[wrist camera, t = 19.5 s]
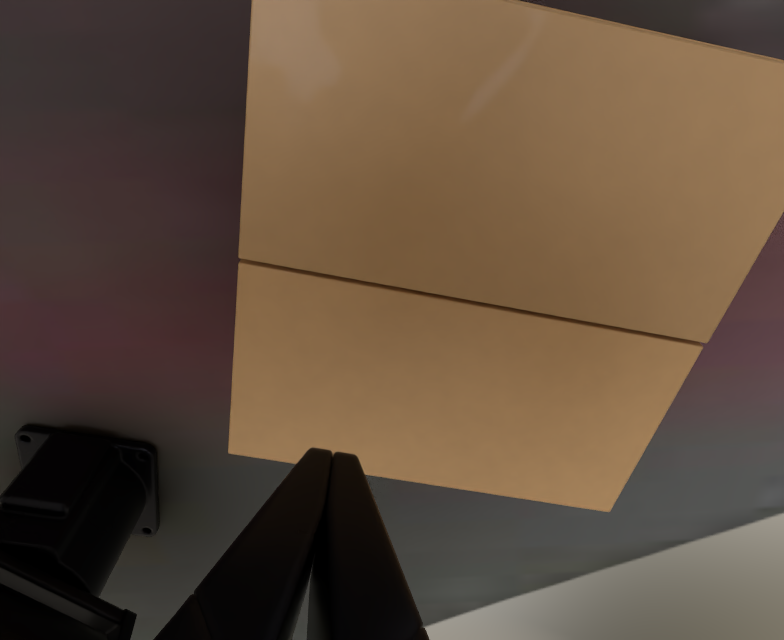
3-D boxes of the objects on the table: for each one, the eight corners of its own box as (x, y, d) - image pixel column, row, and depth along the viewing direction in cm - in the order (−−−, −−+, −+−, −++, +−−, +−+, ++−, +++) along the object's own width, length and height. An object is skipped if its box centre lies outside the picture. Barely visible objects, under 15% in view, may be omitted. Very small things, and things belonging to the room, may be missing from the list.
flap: (606, 503, 20) (609, 512, 20) (230, 445, 19) (227, 454, 19) (698, 339, 17) (704, 346, 16) (242, 256, 15) (237, 262, 15)
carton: (567, 404, 25) (610, 514, 20) (266, 353, 24) (226, 455, 19) (726, 52, 18) (864, 77, 12) (301, -43, 17) (251, -62, 11)
